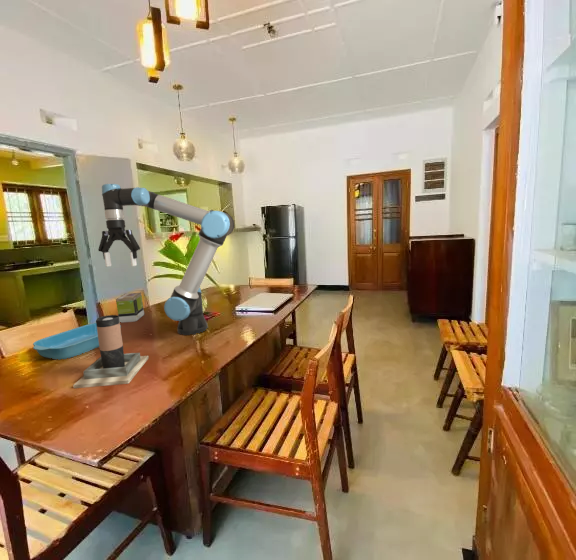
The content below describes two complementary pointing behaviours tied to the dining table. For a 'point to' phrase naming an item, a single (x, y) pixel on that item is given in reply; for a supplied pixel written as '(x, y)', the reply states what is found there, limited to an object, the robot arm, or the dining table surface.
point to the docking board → (111, 372)
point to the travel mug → (110, 341)
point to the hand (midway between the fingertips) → (121, 266)
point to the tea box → (130, 307)
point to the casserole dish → (69, 343)
